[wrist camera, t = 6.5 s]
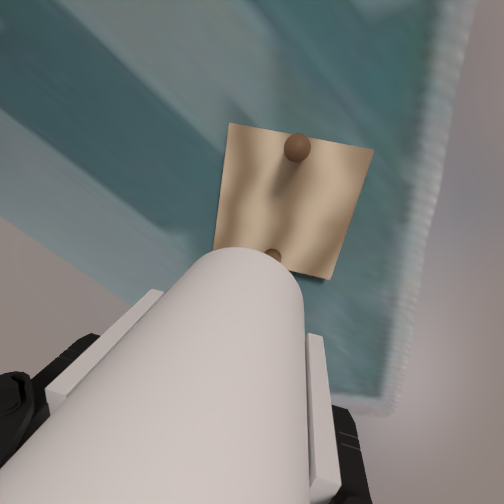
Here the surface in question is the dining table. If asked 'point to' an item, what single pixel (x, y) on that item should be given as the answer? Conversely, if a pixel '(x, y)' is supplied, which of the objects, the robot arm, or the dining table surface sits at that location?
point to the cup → (186, 401)
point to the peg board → (289, 196)
